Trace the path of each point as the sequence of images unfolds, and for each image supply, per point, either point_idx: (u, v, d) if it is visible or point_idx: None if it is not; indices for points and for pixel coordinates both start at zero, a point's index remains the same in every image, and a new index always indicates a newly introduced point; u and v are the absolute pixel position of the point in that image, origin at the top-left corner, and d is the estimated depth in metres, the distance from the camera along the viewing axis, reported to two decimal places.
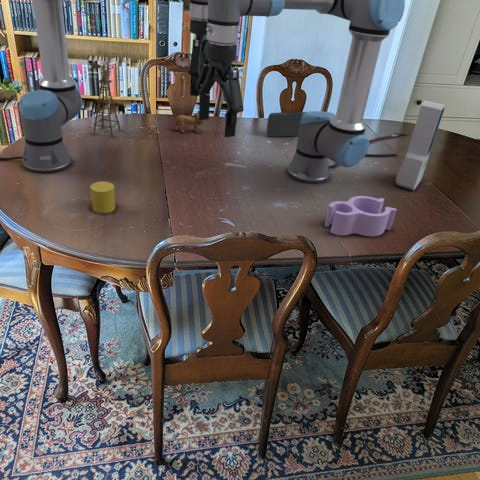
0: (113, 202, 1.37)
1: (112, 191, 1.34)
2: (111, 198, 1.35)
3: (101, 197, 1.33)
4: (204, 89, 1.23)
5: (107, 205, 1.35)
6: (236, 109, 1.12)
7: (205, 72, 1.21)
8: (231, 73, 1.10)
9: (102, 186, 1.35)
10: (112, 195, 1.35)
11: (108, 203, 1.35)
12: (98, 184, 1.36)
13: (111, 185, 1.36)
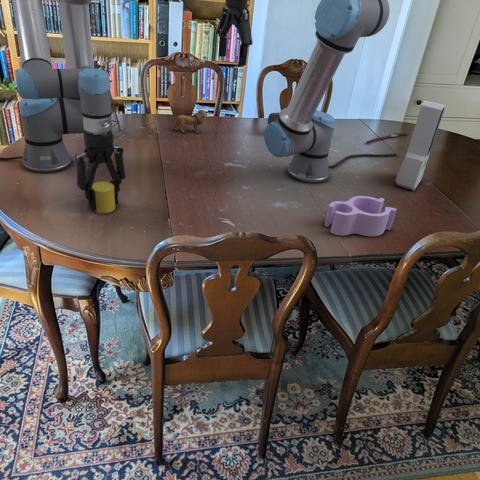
0: (113, 202, 1.37)
1: (112, 191, 1.34)
2: (111, 198, 1.35)
3: (100, 197, 1.33)
4: (223, 32, 1.67)
5: (107, 205, 1.35)
6: (247, 42, 1.56)
7: (224, 19, 1.65)
8: (244, 16, 1.54)
9: (102, 186, 1.35)
10: (112, 195, 1.35)
11: (108, 203, 1.35)
12: (98, 184, 1.36)
13: (111, 185, 1.36)
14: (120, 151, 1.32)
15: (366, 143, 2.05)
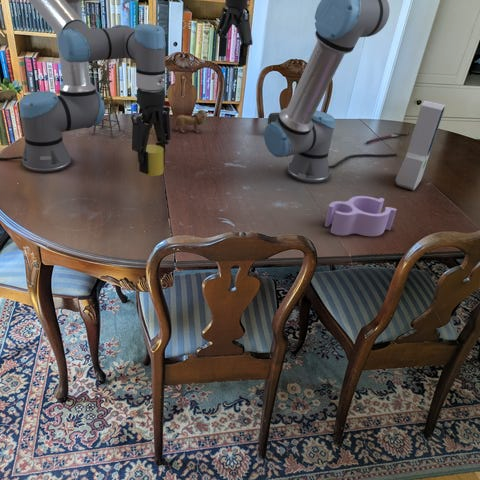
0: (163, 164, 1.36)
1: (163, 152, 1.34)
2: (162, 159, 1.34)
3: (154, 159, 1.32)
4: (223, 32, 1.67)
5: (159, 167, 1.34)
6: (247, 42, 1.56)
7: (224, 19, 1.65)
8: (244, 16, 1.54)
9: (151, 148, 1.33)
10: (163, 156, 1.34)
11: (160, 164, 1.34)
12: None
13: (159, 147, 1.35)
14: (168, 110, 1.32)
15: (366, 143, 2.05)
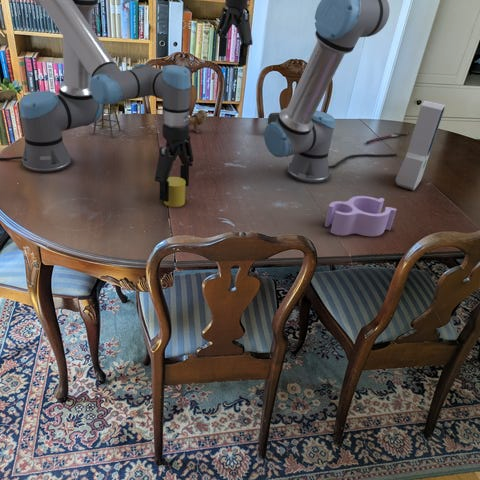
0: None
1: (185, 184, 1.43)
2: None
3: (178, 191, 1.40)
4: (223, 32, 1.67)
5: (182, 198, 1.43)
6: (247, 42, 1.56)
7: (224, 19, 1.65)
8: (244, 16, 1.54)
9: (174, 181, 1.42)
10: None
11: (183, 195, 1.43)
12: (168, 179, 1.42)
13: (181, 179, 1.43)
14: (189, 139, 1.40)
15: (366, 143, 2.05)
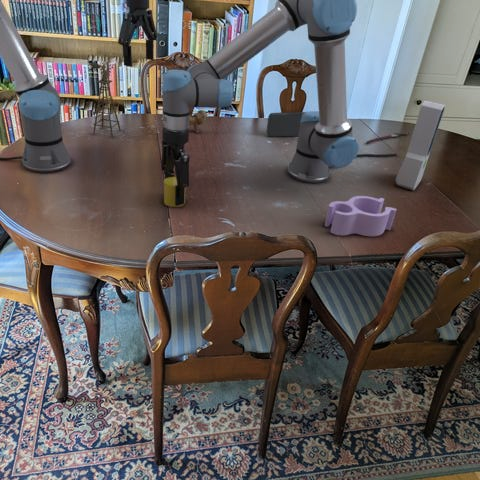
0: None
1: None
2: None
3: None
4: (167, 168, 1.42)
5: None
6: (182, 186, 1.36)
7: (166, 152, 1.41)
8: (182, 159, 1.31)
9: (174, 181, 1.42)
10: None
11: None
12: (168, 179, 1.42)
13: None
14: (151, 13, 1.60)
15: (366, 143, 2.05)
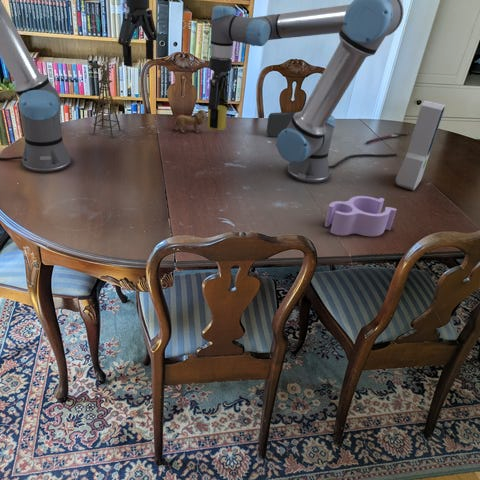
0: (223, 122, 1.66)
1: (223, 112, 1.64)
2: (222, 118, 1.64)
3: None
4: (219, 96, 1.66)
5: None
6: (209, 107, 1.58)
7: None
8: (210, 82, 1.54)
9: None
10: (223, 115, 1.64)
11: (218, 121, 1.64)
12: None
13: (225, 108, 1.65)
14: (151, 13, 1.60)
15: (366, 143, 2.05)
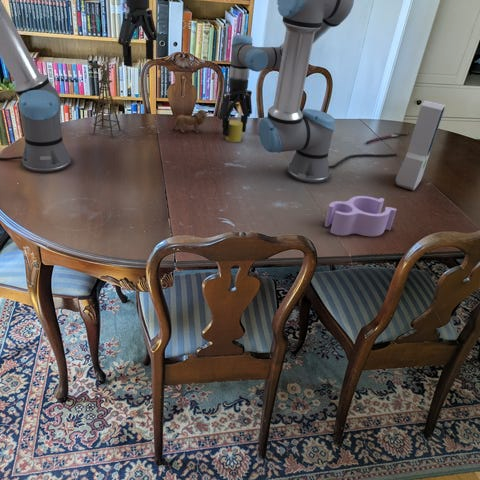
0: (236, 136, 1.92)
1: (236, 127, 1.90)
2: (234, 132, 1.91)
3: None
4: (242, 110, 1.93)
5: (230, 135, 1.92)
6: (219, 117, 1.85)
7: (246, 99, 1.91)
8: (223, 95, 1.82)
9: (234, 122, 1.92)
10: (236, 130, 1.90)
11: (231, 134, 1.91)
12: (235, 121, 1.94)
13: (240, 124, 1.91)
14: (151, 13, 1.60)
15: (366, 143, 2.05)
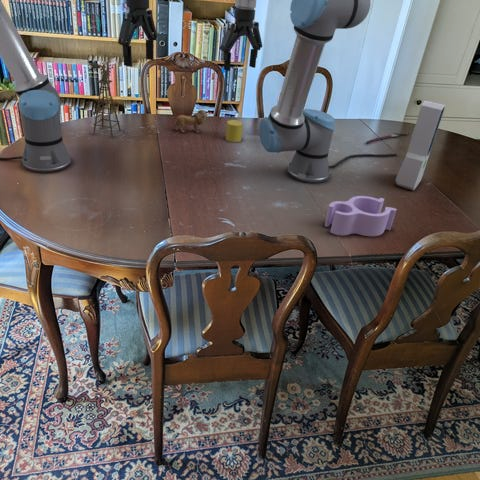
0: (236, 136, 1.92)
1: (236, 127, 1.90)
2: (234, 132, 1.91)
3: (228, 128, 1.91)
4: (251, 44, 1.80)
5: (230, 135, 1.92)
6: (220, 47, 1.70)
7: (254, 32, 1.77)
8: (228, 24, 1.68)
9: (234, 122, 1.92)
10: (236, 130, 1.90)
11: (231, 134, 1.91)
12: (235, 121, 1.94)
13: (240, 124, 1.91)
14: (151, 13, 1.60)
15: (366, 143, 2.05)
